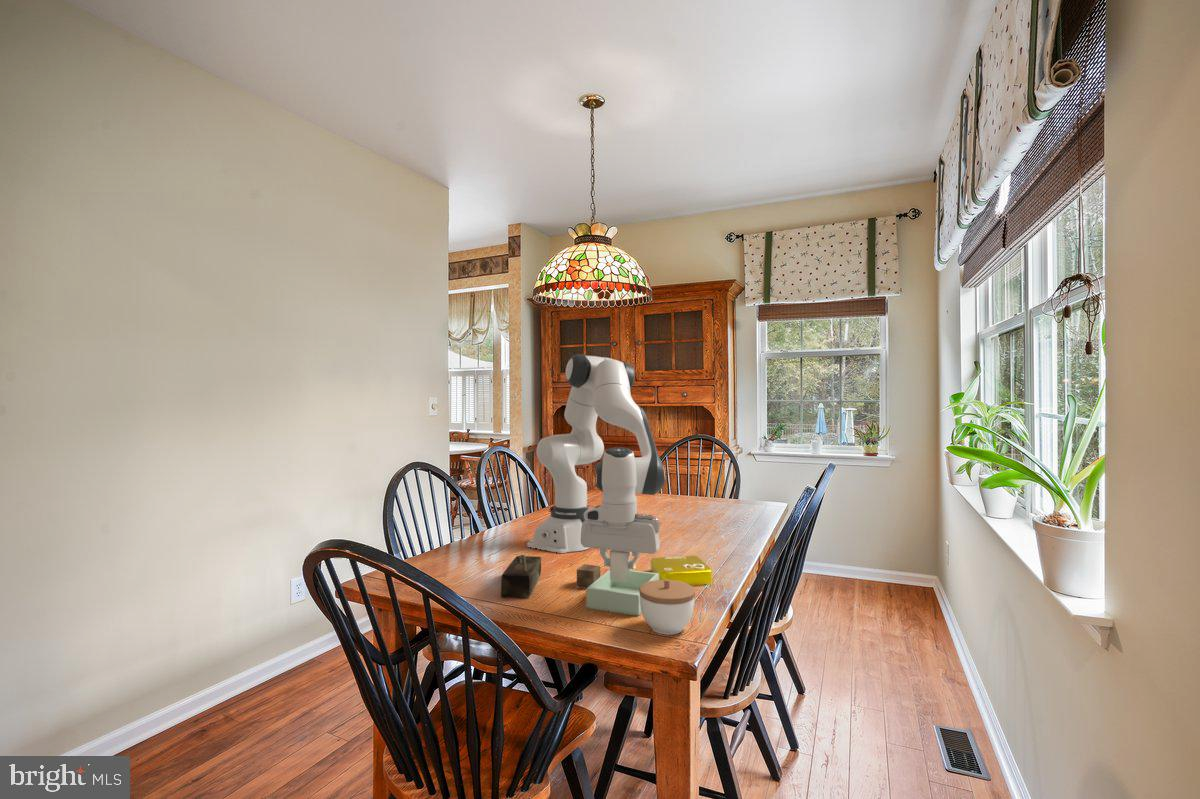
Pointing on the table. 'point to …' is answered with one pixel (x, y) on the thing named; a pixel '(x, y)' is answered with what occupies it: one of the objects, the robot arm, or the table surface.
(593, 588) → the tote
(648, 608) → the lidded bowl
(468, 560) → the table surface
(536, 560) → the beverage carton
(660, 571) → the element tile
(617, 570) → the white rounded cylinder
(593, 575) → the walnut block
